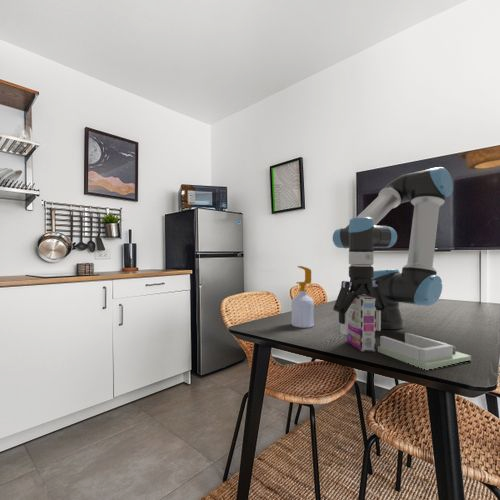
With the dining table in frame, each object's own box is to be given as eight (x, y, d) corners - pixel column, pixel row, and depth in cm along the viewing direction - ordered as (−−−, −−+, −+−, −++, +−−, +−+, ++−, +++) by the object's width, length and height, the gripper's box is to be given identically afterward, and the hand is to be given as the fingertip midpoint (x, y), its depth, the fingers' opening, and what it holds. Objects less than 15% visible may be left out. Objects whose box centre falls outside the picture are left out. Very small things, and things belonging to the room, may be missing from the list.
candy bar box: (377, 352, 92) (377, 297, 92) (361, 352, 91) (361, 298, 91) (360, 341, 103) (360, 293, 103) (346, 341, 102) (346, 293, 103)
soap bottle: (287, 324, 127) (287, 265, 127) (305, 322, 131) (305, 265, 131) (299, 329, 119) (299, 266, 119) (318, 326, 122) (318, 266, 123)
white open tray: (419, 345, 99) (419, 331, 99) (471, 361, 84) (471, 345, 84) (377, 351, 92) (377, 336, 92) (426, 370, 77) (426, 352, 77)
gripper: (337, 266, 89) (337, 338, 89) (398, 265, 99) (398, 330, 98) (322, 265, 96) (321, 332, 96) (380, 264, 106) (380, 325, 105)
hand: (360, 331), depth 97 cm, fingers open, 13 cm apart
